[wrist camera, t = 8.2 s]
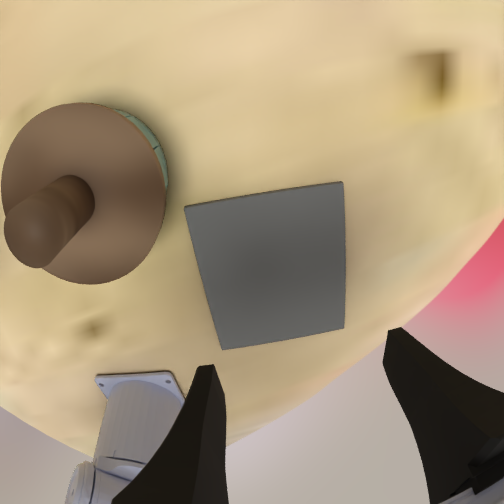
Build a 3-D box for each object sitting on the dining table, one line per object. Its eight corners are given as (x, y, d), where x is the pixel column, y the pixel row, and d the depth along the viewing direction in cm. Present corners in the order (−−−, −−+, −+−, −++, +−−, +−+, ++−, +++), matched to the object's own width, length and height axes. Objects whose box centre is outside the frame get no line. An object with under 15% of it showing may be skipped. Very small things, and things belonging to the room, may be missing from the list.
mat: (342, 325, 25) (344, 328, 25) (221, 346, 25) (221, 350, 25) (341, 181, 20) (343, 183, 19) (184, 206, 20) (183, 208, 19)
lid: (191, 253, 17) (180, 313, 12) (51, 291, 18) (16, 344, 13) (132, 72, 12) (89, 62, 8) (-11, 148, 13) (-70, 173, 8)
